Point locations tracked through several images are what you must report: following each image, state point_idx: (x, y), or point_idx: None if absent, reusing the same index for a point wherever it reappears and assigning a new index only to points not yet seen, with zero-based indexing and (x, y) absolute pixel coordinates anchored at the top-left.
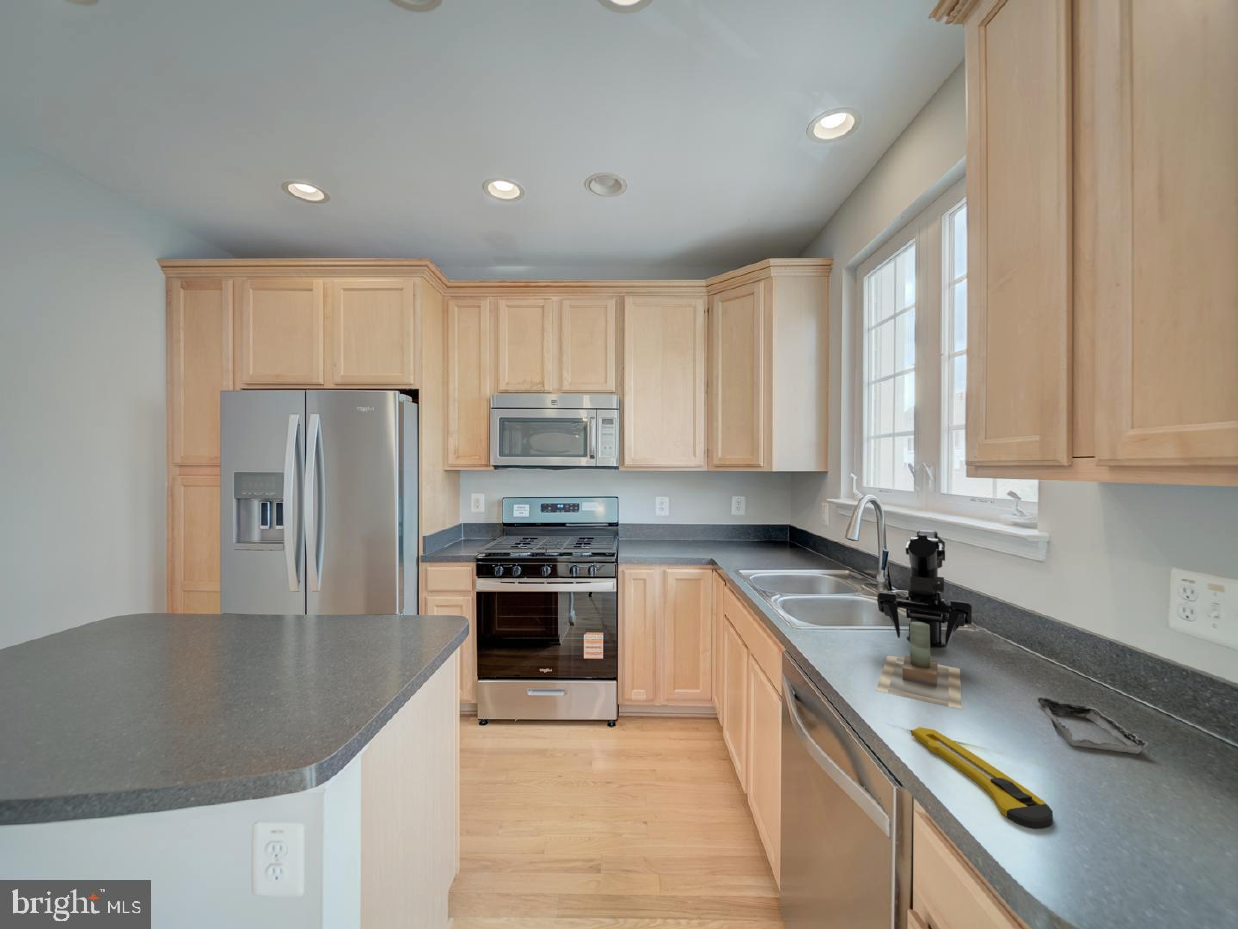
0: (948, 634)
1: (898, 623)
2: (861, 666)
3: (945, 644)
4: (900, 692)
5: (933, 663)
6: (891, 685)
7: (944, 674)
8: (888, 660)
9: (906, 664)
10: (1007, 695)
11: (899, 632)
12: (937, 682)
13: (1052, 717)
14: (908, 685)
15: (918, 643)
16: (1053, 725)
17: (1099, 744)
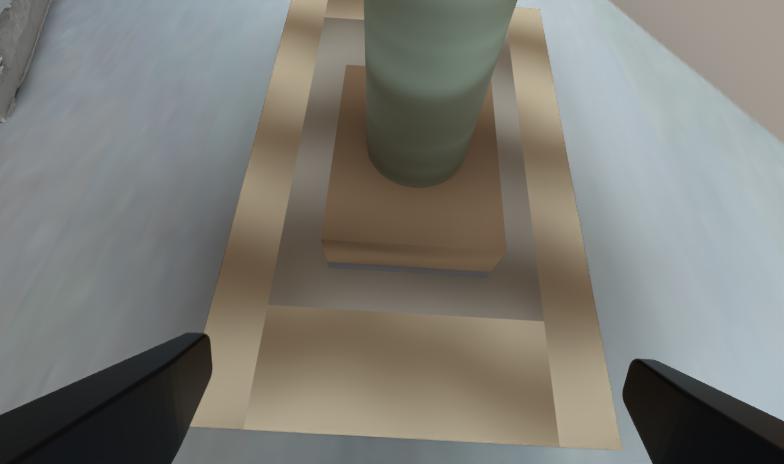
0: (110, 376)
1: (781, 446)
2: (676, 251)
3: (210, 353)
4: None
5: (347, 193)
6: (504, 54)
7: (296, 262)
8: (589, 340)
9: (480, 119)
10: (60, 213)
11: (658, 373)
12: None
13: (17, 14)
14: None
15: None
16: (35, 40)
17: None
